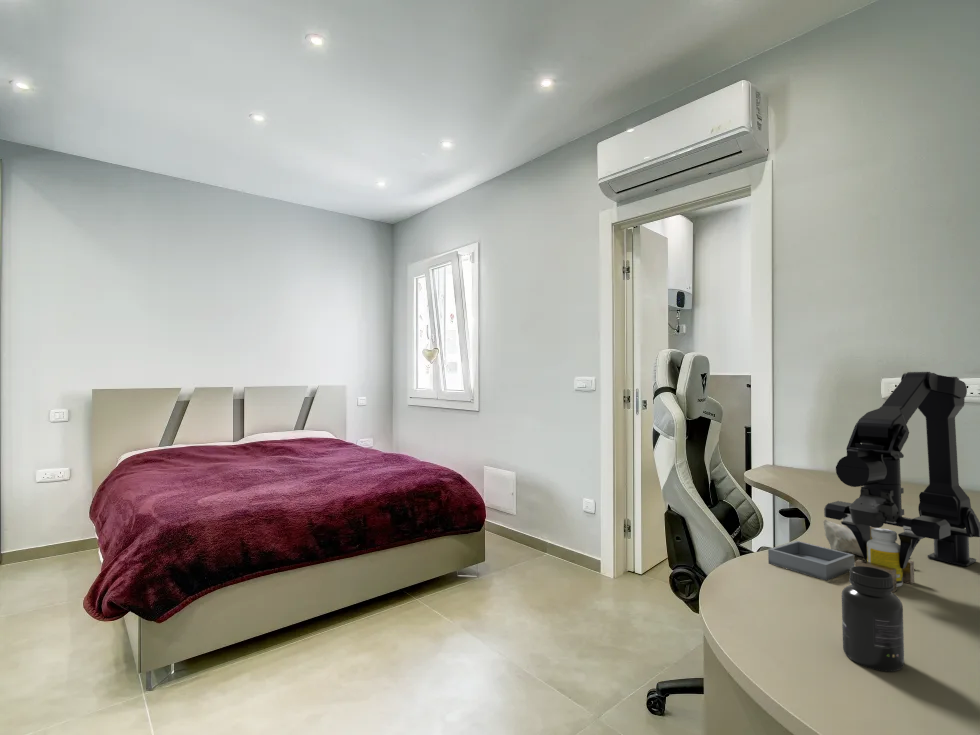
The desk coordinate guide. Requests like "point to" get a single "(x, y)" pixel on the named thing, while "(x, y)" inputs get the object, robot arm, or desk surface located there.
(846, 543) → the ceramic sculpture
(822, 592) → the desk surface
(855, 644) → the supplement bottle
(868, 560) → the supplement bottle
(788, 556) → the tray
